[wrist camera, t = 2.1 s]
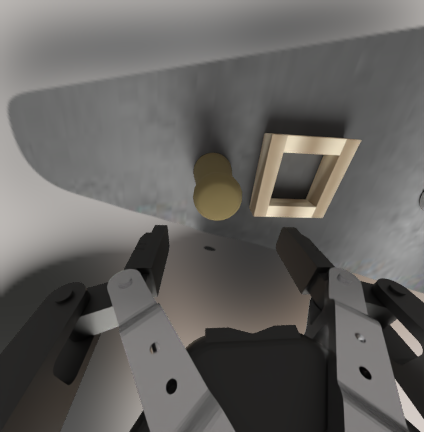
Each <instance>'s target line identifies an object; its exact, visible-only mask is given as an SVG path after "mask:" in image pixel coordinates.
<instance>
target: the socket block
mask: <svg viewBox="0 0 424 432" xmlns="http://www.w3.org/2000/svg"><path fill="white" fill-rule="evenodd" d="M360 142H361V140H355V139H347V138H334V137H319V136H304V135H288V134H273V133H264V138H263V143H262V148H261V153H260V157H259V162H258V167H257V172H256V177H255V182H254V187H253V192H252V196H251V201H250V206H249V208H250V210H251V212H252V214H253V216H262V217H304V218H323V216H324V214H325V212H326V210H327V208H328V206H329V204H330V202H331V200H332V198H333V196H334V194H335V192H336V190H337V188H338V186H339V184H340V182H341V180H342V178H343V176H344V174H345V172H346V170H347V168H348V166H349V164H350V162H351V160H352V158H353V156H354V154H355V152H356V150H357V148H358V146H359V144H360ZM283 152H288V153H305V154H323V158H322V160H321V163H320V165H319V168H318V170H317V173H316V175H315V178H314V180H313V183H312V185H311V188H310V190H309V193H308V195H307V198H306V199H278V198H271V195H272V192H273V188H274V184H275V181H276V177H277V174H278V170H279V166H280V163H281V159H282V155H283Z"/></svg>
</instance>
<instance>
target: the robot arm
mask: <svg viewBox="0 0 424 432" xmlns="http://www.w3.org/2000/svg"><path fill="white" fill-rule="evenodd" d="M420 207H421V209H423V210H424V192H423V194H422V196H421V198H420ZM276 251H277V253H278V255H279V257H280V258H281V260H282V261H283V263H284V265H285V267H286V268H287V270H288V272H289V274H290V275H291V277H292V279H293V280H294V282H295V284H296V286H297V287H298V289H299V291H300V293H301V294H310V295H311V299H310V303H309V310H308V318H307V326H306V331H305V334H304V335H303V334H300V333H299V332H298V330H297V328H296V325H281V326H273V327H270V328H267V329H265V330H262V331H259V332H257V333H253V334H252V333H248V332H244V331H240V330H236V329H232V328H206V330H205V336H203V337H200V338H198V339H197V340H195V341H193V342H192V343H191V344H189V345H188V346H187V347H186V348H185V347H184V345H183V344H182V342H181V340H180V338H179V337H178V335H177V333H176V331H175V330H174V328H173V326H172V324H171V322H170V321H169V319H168V317H167V315H166V314H165V312H164V310H163V308H162V307H161V305H160V304H159V303H158V304H157V303H156V301H155V299H154V297H157V296H158V293H159V289H160V285H161V280H162V276H163V272H164V269H165V264H166V261H167V256H168V252H169V236H168V228H167V225H155V227H154V228H153V230H152V233H146V234H144V235H143V236H142V237H141V238H140V240H139V242H138V244H137V246H136V247H135V250H134V251H133V253H132V255H131V257H130V259H129V261H128V262H127V264H126V266H125V268H124V270H123V271H120V272H118V273H117V274H115V275H114V276H113V277H112V278H111V279H110V280H109V282H107V283H104V284H100V285H97V286H93V287H89V288H86V287H85V285H84V284H82V283H80V282H73V283H69V284H66V285H63V286H61V287H60V288H58V289H56V290H54V291H53V292H52V293H51V294H50V295H49V296H48V297H47V298H46V299H45V300H44V301H43V302H42V304H41V305H40V306H39V307H38V309H37V310H36V311H35V312H34V313H33V315H32V316H31V317H30V318H29V320H28V321H27V322H26V323H25V325H24V326H23V327H22V328H21V330H20V331H19V332H18V333H17V334H16V336H15V337H14V338H13V339H12V341H11V342H10V343H9V344H8V346H7V347H6V348H5V349H4V350H3V352H2V353H1V354H0V432H60V431H61V428H62V426H63V423H64V421H65V419H66V417H67V414H68V412H69V409H70V407H71V404H72V402H73V400H74V397H75V395H76V392H77V390H78V388H79V385H80V383H81V381H82V378H83V376H84V373H85V371H86V369H87V366H88V364H89V361H90V359H91V357H92V354H93V352H94V349H95V347H96V345H97V342H98V340H99V337H100V335H101V333H102V332H104V331H107V330H109V329H112V328H115V327H118V326H119V332H120V336H121V339H122V342H123V345H124V349H125V352H126V355H127V358H128V361H129V365H130V368H131V371H132V374H133V378H134V380H135V384H136V387H137V390H138V394H139V397H140V400H141V403H142V407H143V412H142V413H141V415H140V416H139V418H138V419H137V421H136V422H135V424H134V425H133V427H132V428H131V430H130V432H420V431H419V430H418V429H417V428H416V427H415V426H413V425H412V424H411V423H410V422H409V421H408V420H407V419H405V417H404V413H403V410H402V406H401V402H400V398H399V394H398V390H397V386H396V382H395V379H396V381H397V382H398V383H399V385H400V386H401V387H402V389H403V390H404V392H405V393H406V395H407V396H408V398H409V399H410V400H411V401H412V403H413V404H414V406H415V407H416V409H417V410H418V411H419V413H420V414H421V416H422V417H423V419H424V303H423V302H422V301H421V300H420V299H419V298H417V297H416V296H415V295H414V294H413V293H411V292H410V291H409V290H408V289H407V288H405V287H404V286H402V285H400V284H398V283H396V282H394V281H392V280H389V279H383V278H382V279H379V280H378V281H377V282H376V283H375V284H370V283H366V282H362V281H359V279H358V278H357V277H356V276H355V275H353V274H352V273H350V272H349V271H347V270H344V269H342V268H337V267H335V266H334V265H333V264H332V263H331V262H330V261H329V260H328V259H327V258H326V257H325V256H324V255H323V253H322V252H321V251H319V249H318V248H317V247H316V246H315V245H314V244H313V243H312V242H311V240H310V239H308V238H307V237H305V236H304V235H302V234H301V233H300V232H299V231H298V230H297V229H296V228H294V227H283V228H282V230H281V232H280V235H279V238H278V241H277V244H276ZM396 319H398V320H399V321H400V322H401V323H402V324H403V325H404V326H405V328H406V329H407V330H408V331H409V332H410V333H411V334H412V335H413V336H414V337H415V338H416V339H417V340H418V341H419V343H420V344H421V346H422V348H423V353H422V355H420V356H419V357H418V356H417V355H416V354H415V353H414V352H413V351H412V350H411V349H410V347H409V346H408V345H407V344H406V343H405V342H404V341H403V339H402V338H401V337H400V336H399V335H398V334H397V333H396V331H395V330H394V329H393V328H392V327H391V326H390V324H391V323H392V322H394V321H395V320H396Z"/></svg>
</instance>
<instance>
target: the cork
mask: <svg viewBox="0 0 424 432" xmlns="http://www.w3.org/2000/svg"><path fill="white" fill-rule="evenodd" d="M194 178H195V182H196V186H195V189H194V195H193V199H194V204H195V207H196V208H197V210H198V212H199V213H200V214H201V215H202V216H204V217H206V218H208V219H210V220H217V221H218V220H224V219H227V218H229V217H231V216H232V215H233V214H235V213H236V212H237V210H238V209H239V207H240V205H241V202H242V191H241V188H240V185H239V183H238V182H237V181H236V180H235V179H234V177H232V169H231V165H230V163H229V161H228V160H227V159H226V157H224V156H223V155H221V154H218V153H207V154H205V155H203V156H201V157H200V158H199V159H198V160H197V162H196V164H195V166H194Z"/></svg>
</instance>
